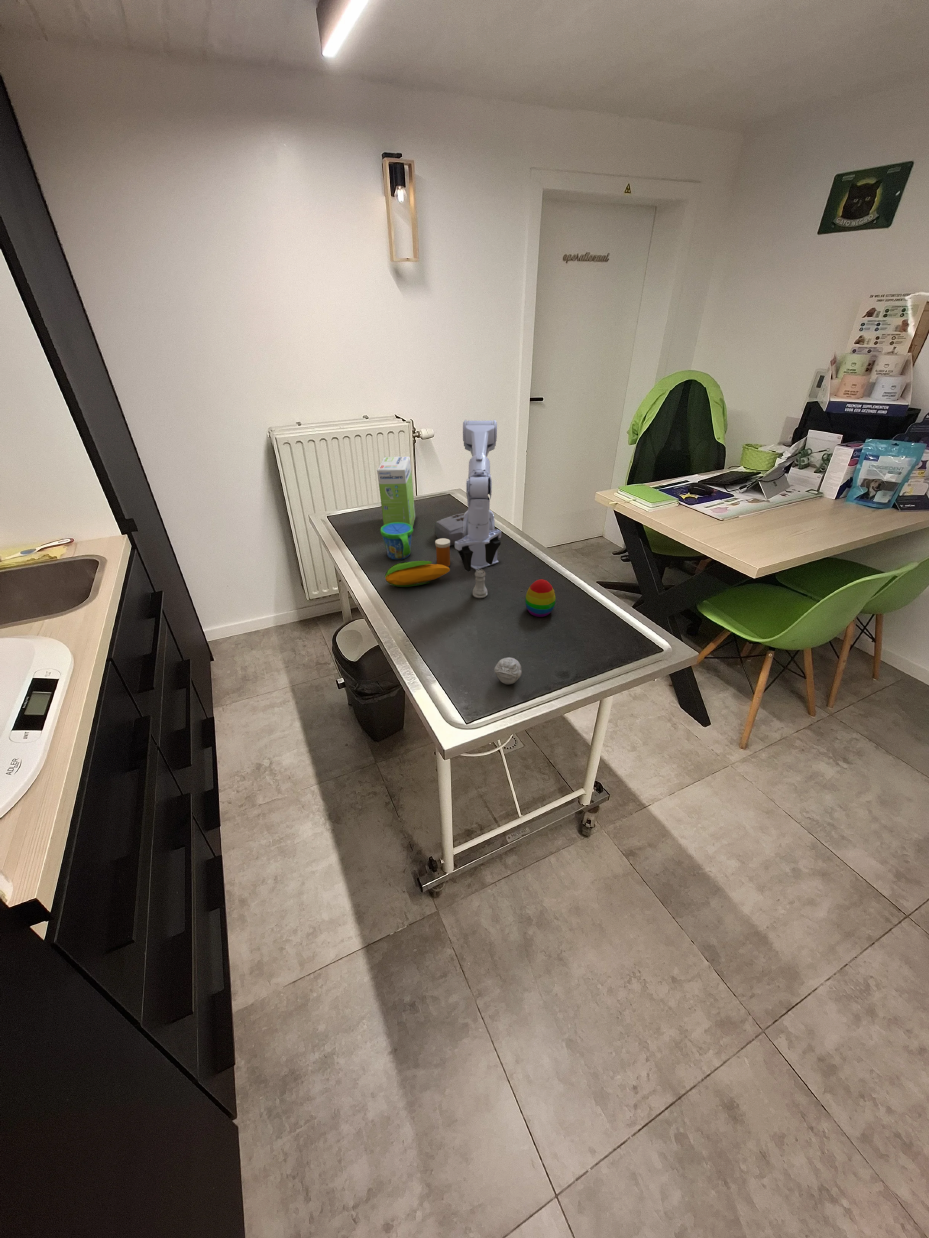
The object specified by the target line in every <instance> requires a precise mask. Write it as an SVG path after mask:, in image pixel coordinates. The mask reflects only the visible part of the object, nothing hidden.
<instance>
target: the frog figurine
mask: <svg viewBox="0 0 929 1238" xmlns="http://www.w3.org/2000/svg"><path fill="white" fill-rule="evenodd" d="M494 673H495V674H496V677H497V679H498V680H499V681H500V682H501V683H502V684H504V685H513V684H515V683H516V682H517V681H519V679H520V677H521V676H522V665H521V664H520V661H518V660H517V658H516V659H515V658H514V657H504V658H501V659H499V661H498V662H497V663H496V665H495V667H494Z"/></svg>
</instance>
